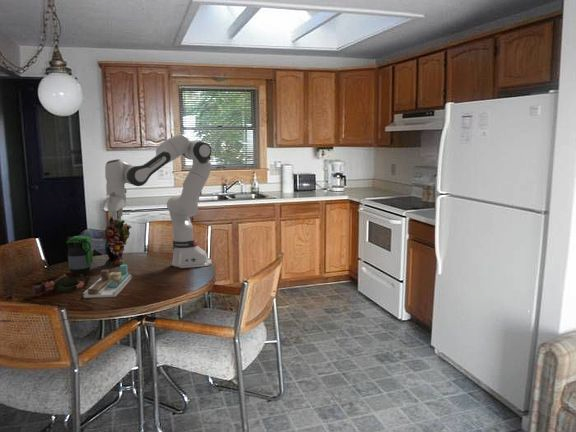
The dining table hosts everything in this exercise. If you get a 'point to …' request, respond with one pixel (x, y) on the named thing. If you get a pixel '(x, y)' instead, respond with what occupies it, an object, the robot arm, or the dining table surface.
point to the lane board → (107, 289)
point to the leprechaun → (60, 285)
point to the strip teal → (123, 274)
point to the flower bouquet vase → (116, 241)
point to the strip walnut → (100, 282)
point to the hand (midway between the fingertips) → (117, 218)
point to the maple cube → (115, 277)
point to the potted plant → (79, 254)
